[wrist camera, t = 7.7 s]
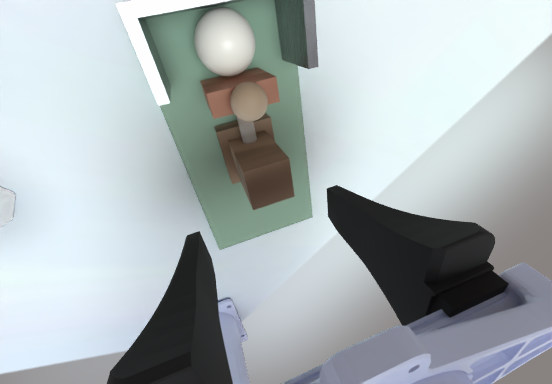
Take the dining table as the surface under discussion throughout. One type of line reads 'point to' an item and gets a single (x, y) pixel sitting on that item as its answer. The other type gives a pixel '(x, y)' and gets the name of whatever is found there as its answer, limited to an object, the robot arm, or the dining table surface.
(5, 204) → the perfume bottle
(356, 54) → the dining table surface
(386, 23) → the dining table surface
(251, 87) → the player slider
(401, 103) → the dining table surface
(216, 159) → the pitch mat
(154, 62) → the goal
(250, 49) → the ball
